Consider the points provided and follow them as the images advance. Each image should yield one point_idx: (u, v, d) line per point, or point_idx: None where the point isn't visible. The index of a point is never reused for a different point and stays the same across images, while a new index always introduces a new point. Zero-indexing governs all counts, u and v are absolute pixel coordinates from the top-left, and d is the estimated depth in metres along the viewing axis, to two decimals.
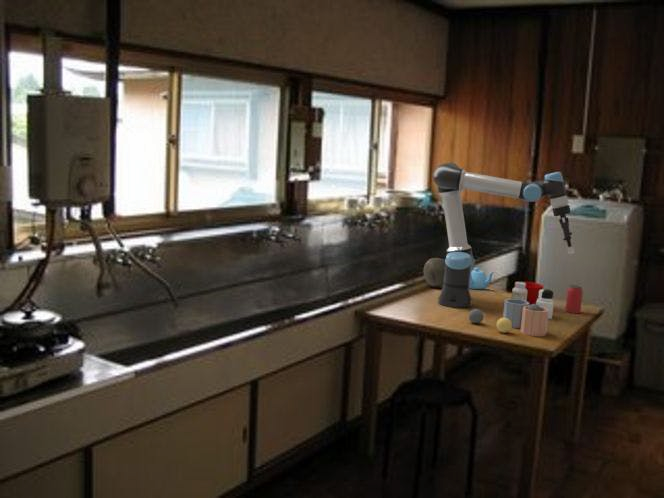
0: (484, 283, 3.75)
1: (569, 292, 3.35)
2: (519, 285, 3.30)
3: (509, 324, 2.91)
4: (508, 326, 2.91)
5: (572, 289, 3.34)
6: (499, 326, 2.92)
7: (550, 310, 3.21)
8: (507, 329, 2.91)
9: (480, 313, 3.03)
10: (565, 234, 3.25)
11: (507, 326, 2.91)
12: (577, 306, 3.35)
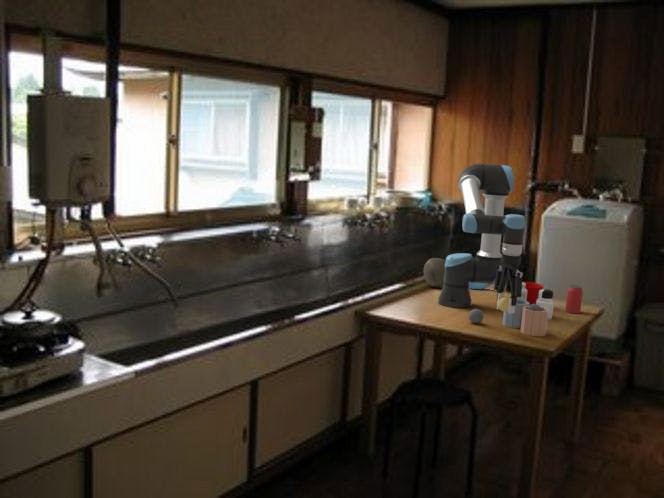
0: None
1: (569, 292, 3.35)
2: None
3: None
4: None
5: (572, 289, 3.34)
6: (501, 305, 2.91)
7: (550, 310, 3.21)
8: None
9: (480, 313, 3.03)
10: None
11: None
12: (577, 306, 3.35)
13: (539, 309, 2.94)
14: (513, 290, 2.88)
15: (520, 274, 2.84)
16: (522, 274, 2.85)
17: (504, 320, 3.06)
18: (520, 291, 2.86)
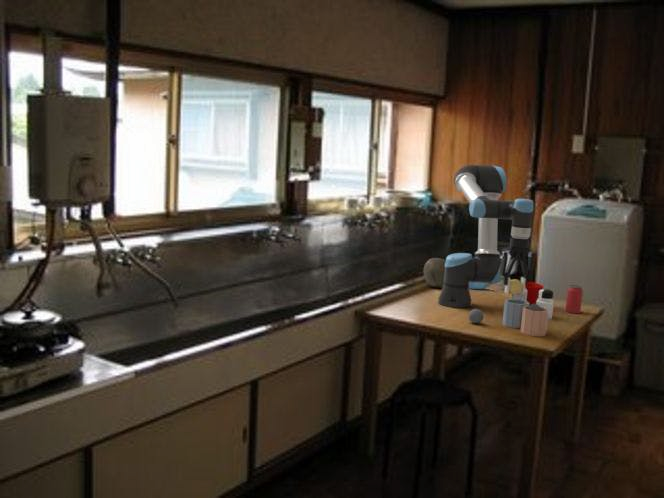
0: (484, 283, 3.75)
1: (569, 292, 3.35)
2: None
3: None
4: None
5: (572, 289, 3.34)
6: (519, 288, 2.98)
7: (550, 310, 3.21)
8: None
9: (480, 313, 3.03)
10: (500, 270, 2.99)
11: (522, 286, 3.00)
12: (577, 306, 3.35)
13: (539, 309, 2.94)
14: None
15: None
16: None
17: (504, 320, 3.06)
18: None
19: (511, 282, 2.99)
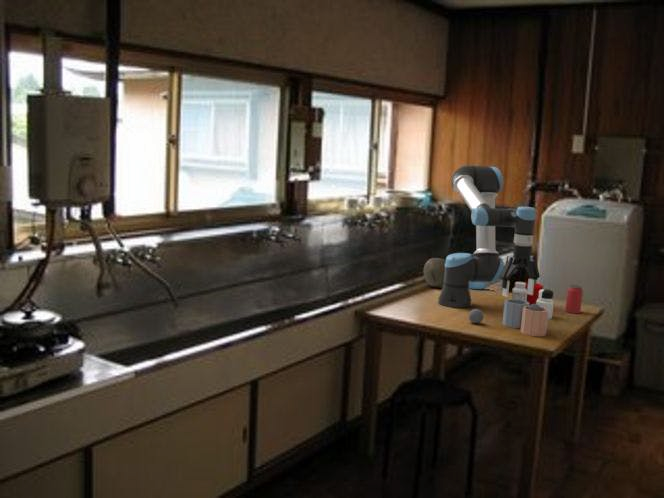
0: (484, 283, 3.75)
1: (569, 292, 3.35)
2: (519, 285, 3.30)
3: None
4: None
5: (572, 289, 3.34)
6: None
7: (550, 310, 3.21)
8: None
9: (480, 313, 3.03)
10: (501, 273, 3.00)
11: None
12: (577, 306, 3.35)
13: (539, 309, 2.94)
14: None
15: None
16: None
17: (504, 320, 3.06)
18: None
19: None
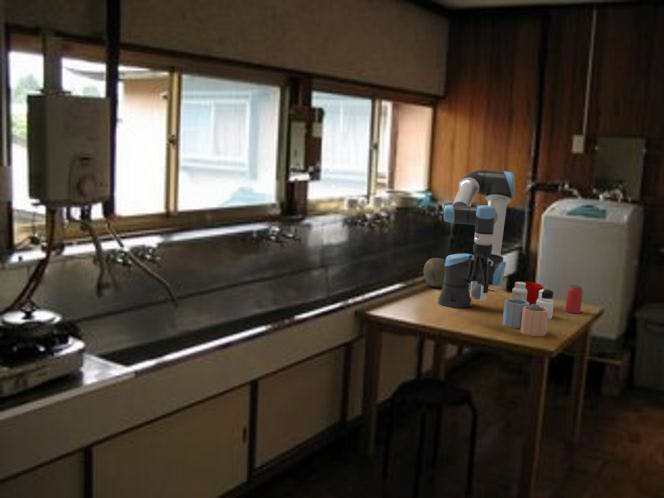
0: None
1: (569, 292, 3.35)
2: (519, 285, 3.30)
3: None
4: None
5: (572, 289, 3.34)
6: None
7: (550, 310, 3.21)
8: None
9: None
10: None
11: None
12: (577, 306, 3.35)
13: (539, 309, 2.94)
14: (485, 278, 2.99)
15: (491, 262, 2.96)
16: (493, 262, 2.97)
17: (504, 320, 3.06)
18: (491, 279, 2.98)
19: None
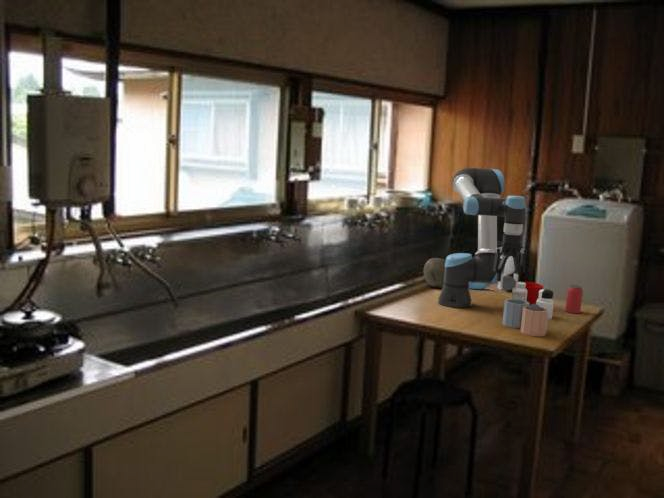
0: (484, 283, 3.75)
1: (569, 292, 3.35)
2: (519, 285, 3.30)
3: None
4: None
5: (572, 289, 3.34)
6: None
7: (550, 310, 3.21)
8: None
9: None
10: (493, 266, 3.02)
11: None
12: (577, 306, 3.35)
13: (539, 309, 2.94)
14: None
15: None
16: None
17: (504, 320, 3.06)
18: None
19: None
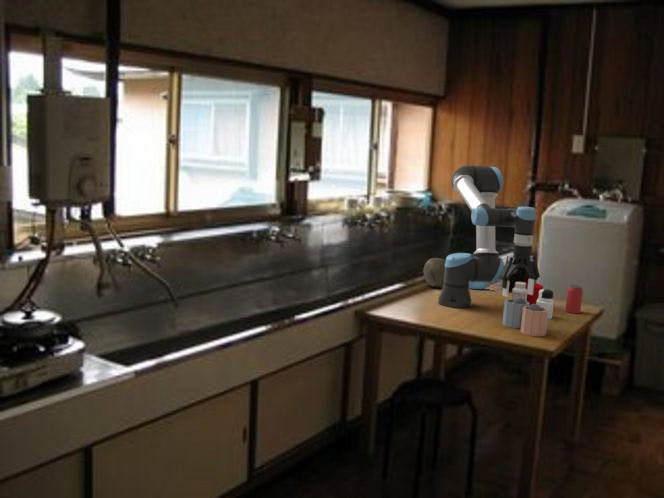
0: (484, 283, 3.75)
1: (569, 292, 3.35)
2: (519, 285, 3.30)
3: None
4: None
5: (572, 289, 3.34)
6: None
7: (550, 310, 3.21)
8: None
9: None
10: (501, 273, 3.00)
11: None
12: (577, 306, 3.35)
13: (539, 309, 2.94)
14: None
15: None
16: None
17: (504, 320, 3.06)
18: None
19: None
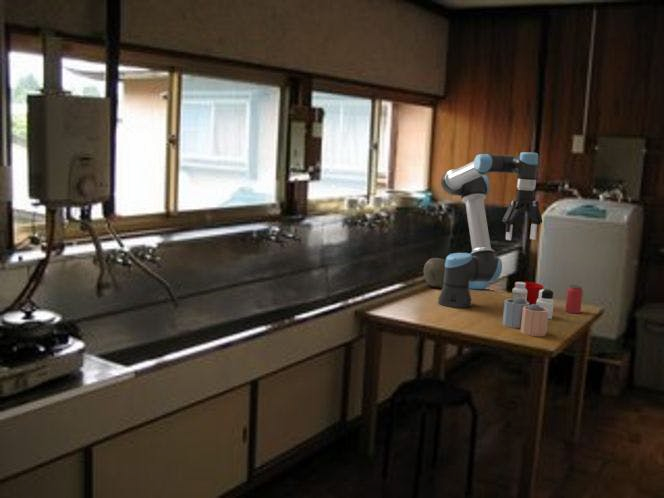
0: (484, 283, 3.75)
1: (569, 292, 3.35)
2: (519, 285, 3.30)
3: None
4: None
5: (572, 289, 3.34)
6: None
7: (550, 310, 3.21)
8: None
9: None
10: (504, 217, 3.06)
11: None
12: (577, 306, 3.35)
13: (539, 309, 2.94)
14: None
15: None
16: None
17: (504, 320, 3.06)
18: None
19: None
